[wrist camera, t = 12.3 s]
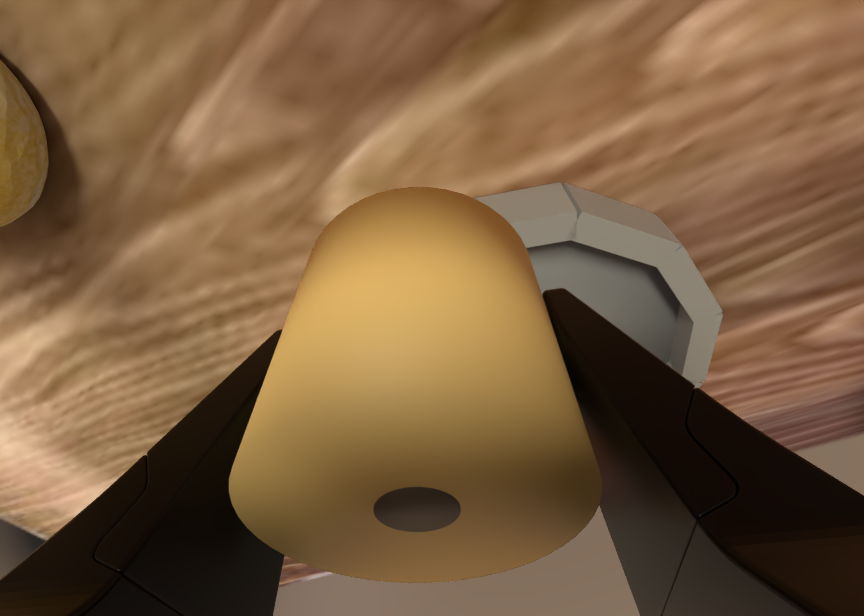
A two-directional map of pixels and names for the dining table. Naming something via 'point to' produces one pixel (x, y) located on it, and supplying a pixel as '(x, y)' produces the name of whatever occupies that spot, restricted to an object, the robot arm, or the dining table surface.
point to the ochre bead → (417, 403)
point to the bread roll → (19, 149)
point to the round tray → (618, 269)
